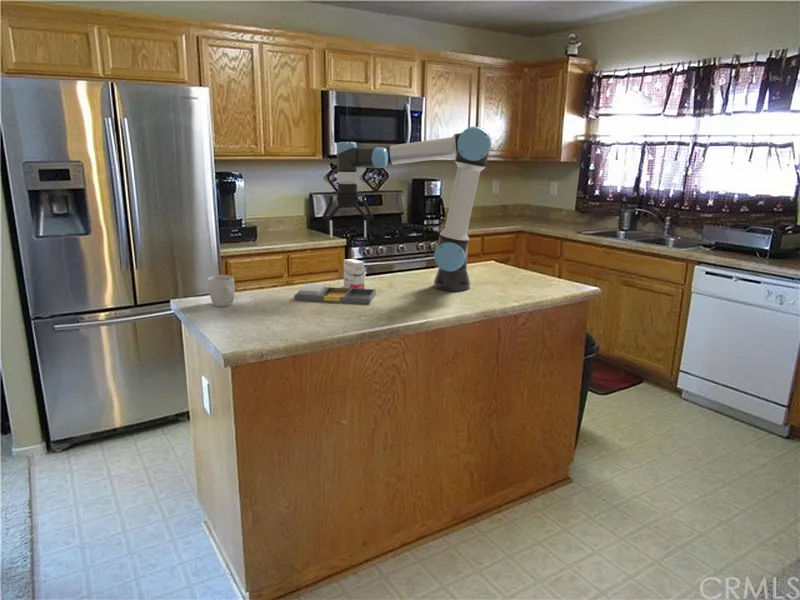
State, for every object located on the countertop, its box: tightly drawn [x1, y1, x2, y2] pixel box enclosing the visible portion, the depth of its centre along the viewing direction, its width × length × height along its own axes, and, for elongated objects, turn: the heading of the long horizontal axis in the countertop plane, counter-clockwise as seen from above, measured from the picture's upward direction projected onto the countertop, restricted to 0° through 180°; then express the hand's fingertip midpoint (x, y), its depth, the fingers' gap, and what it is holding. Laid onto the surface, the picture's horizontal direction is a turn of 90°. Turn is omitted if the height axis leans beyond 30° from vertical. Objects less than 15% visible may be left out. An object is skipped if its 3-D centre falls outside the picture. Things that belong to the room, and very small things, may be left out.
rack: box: [294, 286, 377, 305], centre depth 213 cm, size 29×14×2 cm, turn 83°
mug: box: [207, 274, 236, 308], centre depth 198 cm, size 13×9×10 cm
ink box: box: [343, 258, 365, 289], centre depth 225 cm, size 8×5×12 cm, turn 39°
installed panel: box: [298, 283, 327, 296], centre depth 213 cm, size 8×11×3 cm
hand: (348, 237), depth 220 cm, fingers open, 13 cm apart
